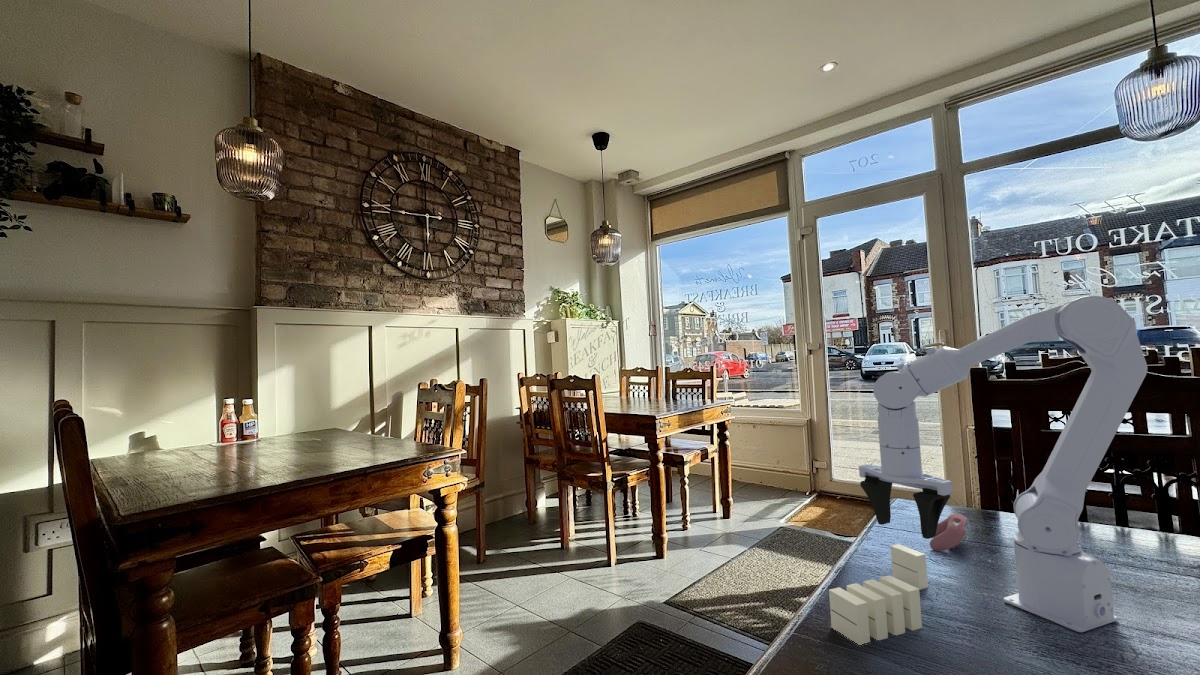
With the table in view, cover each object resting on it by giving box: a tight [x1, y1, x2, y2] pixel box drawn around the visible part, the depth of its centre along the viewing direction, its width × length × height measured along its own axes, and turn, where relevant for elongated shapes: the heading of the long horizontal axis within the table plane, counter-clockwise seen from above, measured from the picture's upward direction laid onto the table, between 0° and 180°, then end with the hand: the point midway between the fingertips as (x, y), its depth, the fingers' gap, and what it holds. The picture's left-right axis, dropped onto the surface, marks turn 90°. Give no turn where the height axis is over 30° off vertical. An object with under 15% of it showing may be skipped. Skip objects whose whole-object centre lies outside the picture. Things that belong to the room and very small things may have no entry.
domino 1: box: [828, 586, 871, 646], centre depth 68 cm, size 5×2×5 cm, turn 18°
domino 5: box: [879, 574, 923, 632], centre depth 71 cm, size 5×2×5 cm, turn 18°
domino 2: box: [845, 582, 889, 641], centre depth 69 cm, size 5×2×5 cm, turn 18°
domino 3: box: [862, 578, 906, 636], centre depth 70 cm, size 5×2×5 cm, turn 18°
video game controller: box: [929, 512, 969, 552], centre depth 96 cm, size 10×5×7 cm, turn 143°
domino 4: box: [890, 543, 929, 591], centre depth 82 cm, size 5×2×5 cm, turn 18°
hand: (905, 530), depth 82 cm, fingers open, 7 cm apart
